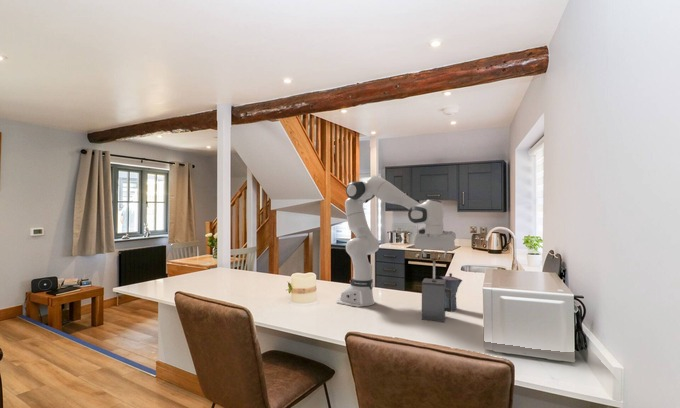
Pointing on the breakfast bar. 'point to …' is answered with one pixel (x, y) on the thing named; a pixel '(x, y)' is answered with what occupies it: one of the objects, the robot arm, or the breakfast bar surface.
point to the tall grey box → (435, 300)
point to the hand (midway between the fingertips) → (434, 257)
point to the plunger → (433, 257)
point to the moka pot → (451, 284)
